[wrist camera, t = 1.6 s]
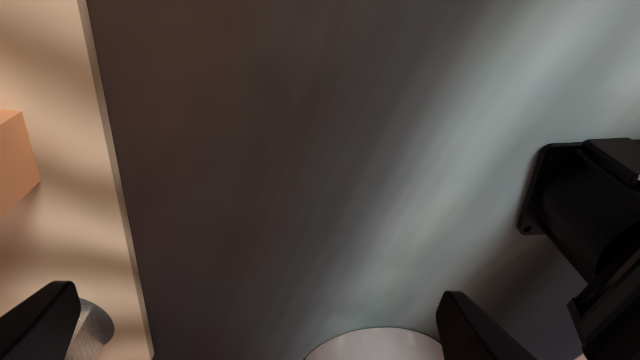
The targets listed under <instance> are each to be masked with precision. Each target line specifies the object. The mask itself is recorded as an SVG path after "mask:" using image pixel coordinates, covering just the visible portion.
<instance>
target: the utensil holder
mask: <svg viewBox="0 0 640 360" xmlns="http://www.w3.org/2000/svg"><path fill="white" fill-rule="evenodd" d="M305 360H444V356H443V351H442V346H441V344H440V343H438V342H437V341H436V340H434V339H432V338H431V337H429V336H427V335H424V334H422V333H419V332H415V331H411V330H407V329H401V328H390V327H383V328H368V329H361V330H356V331H352V332H349V333H346V334H342V335H340V336H337V337H335V338H333V339H331V340H329V341H327V342H325V343H323V344H322V345H320V346H319V347H317V348H316V349H315V350H313V351H312V352H311V353H310V354H309V355H308V356H307V357H306V359H305Z"/></svg>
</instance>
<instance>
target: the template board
mask: <svg viewBox="0 0 640 360" xmlns="http://www.w3.org/2000/svg"><path fill="white" fill-rule="evenodd" d="M0 109H6V110H16V111H22V113H23V117H24V121H25V124H26V128H27V131H28V135H29V139H30V142H31V146H32V150H33V153H34V157H35V160H36V164H37V168H38V171H39V175H40V178H41V181H40V182H38V183H37V184H36V185H35V186H34V187H33V188H32V189H31V190H30V191H29V192H28V193H27V194H26V195H25V196H24V197H23V198H22V199H21V200H20V201H19V202H18V203H17V204H16V205H15V206H14V207H12V208H11V209H10V210H9V211H8V212H7V213H6V214H5V215H4V216H3V217H2V218H1V219H0V317H1V316H2V315H4V314H5V313H7V312H8V311H10V310H11V309H12V308H14V307H15V306H17V305H18V304H20V303H21V302H22V301H24V300H25V299H27V298H28V297H30V296H31V295H33V294H34V293H35V292H37V291H38V290H40V289H41V288H43V287H44V286H45V285H47V284H48V283H50V282H52V281H55V280H61V281H72V282H73V283H74V284H75V286H76V289H77V293H78V296H79V299H80V303H81V305H89V306H93V308H94V311H95V315H96V318H97V321H98V325H99V328H100V332H101V335H102V338H103V342H104V343H103V346H102V348H101V350H100V352H99V354H98V356H97V358H96V360H152V358H153V355H154V350H153V344H152V339H151V334H150V329H149V324H148V319H147V313H146V308H145V303H144V298H143V293H142V288H141V282H140V277H139V272H138V267H137V262H136V257H135V251H134V246H133V241H132V236H131V231H130V226H129V221H128V215H127V210H126V205H125V200H124V195H123V190H122V184H121V179H120V174H119V169H118V164H117V159H116V153H115V148H114V143H113V138H112V133H111V128H110V122H109V117H108V112H107V107H106V102H105V97H104V91H103V86H102V81H101V76H100V71H99V66H98V61H97V55H96V50H95V45H94V40H93V35H92V30H91V24H90V19H89V14H88V9H87V4H86V0H0Z"/></svg>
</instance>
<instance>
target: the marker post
mask: <svg viewBox="0 0 640 360" xmlns="http://www.w3.org/2000/svg"><path fill="white" fill-rule="evenodd" d="M40 181H41V178H40V175H39V171H38V168H37V164H36V160H35V157H34V153H33V150H32V146H31V142H30V139H29V135H28V131H27V128H26V124H25V121H24V117H23V113H22V111H16V110H6V109H0V219H1V218H2V217H3V216H4V215H5V214H6V213H7V212H8V211H9V210H10V209H11V208H12V207H14V206H15V205H16V204H17V203H18V202H19V201H20V200H21V199H22V198H23V197H24V196H25V195H26V194H27V193H28V192H29V191H30V190H31V189H32V188H33V187H34V186H35V185H36V184H37V183H38V182H40Z"/></svg>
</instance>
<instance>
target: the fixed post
mask: <svg viewBox="0 0 640 360" xmlns="http://www.w3.org/2000/svg"><path fill="white" fill-rule="evenodd" d="M103 343H104V342H103V338H102V335H101V332H100V328H99V325H98V321H97V318H96V315H95V311H94V308H93V306H89V305H81V313H80V317H79V319H78V322H77V325H76V328H75V331H74V334H73V336H72V339H71V342H70V345H69V348H68V351H67V353H66V356H65V359H64V360H96V358H97V356H98V354H99V352H100V350H101V348H102V346H103Z"/></svg>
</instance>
